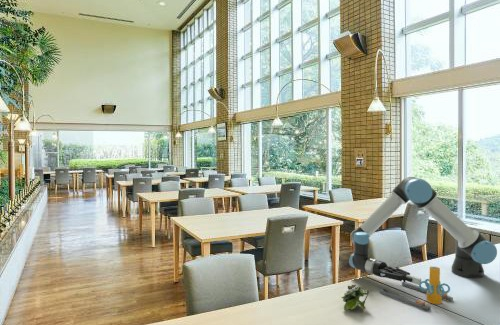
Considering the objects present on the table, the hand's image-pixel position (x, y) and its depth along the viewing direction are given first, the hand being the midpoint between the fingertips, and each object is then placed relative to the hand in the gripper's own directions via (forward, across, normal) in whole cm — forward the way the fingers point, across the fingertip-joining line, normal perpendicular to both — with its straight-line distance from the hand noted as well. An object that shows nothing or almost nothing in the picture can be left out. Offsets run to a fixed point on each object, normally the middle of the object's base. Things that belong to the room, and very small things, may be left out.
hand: (420, 281), depth 166 cm
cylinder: (+6, -2, -8) cm, 10 cm away
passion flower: (-9, +31, -8) cm, 34 cm away
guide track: (-1, 0, -8) cm, 8 cm away
